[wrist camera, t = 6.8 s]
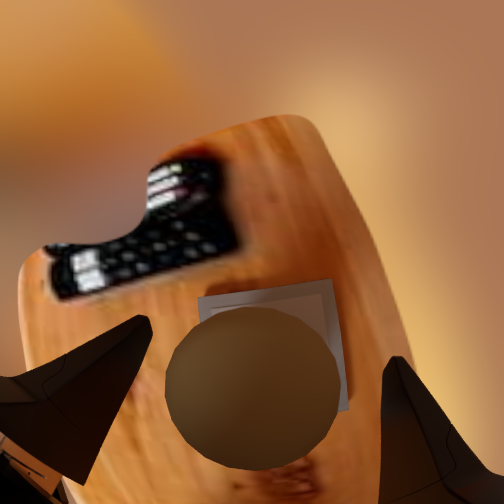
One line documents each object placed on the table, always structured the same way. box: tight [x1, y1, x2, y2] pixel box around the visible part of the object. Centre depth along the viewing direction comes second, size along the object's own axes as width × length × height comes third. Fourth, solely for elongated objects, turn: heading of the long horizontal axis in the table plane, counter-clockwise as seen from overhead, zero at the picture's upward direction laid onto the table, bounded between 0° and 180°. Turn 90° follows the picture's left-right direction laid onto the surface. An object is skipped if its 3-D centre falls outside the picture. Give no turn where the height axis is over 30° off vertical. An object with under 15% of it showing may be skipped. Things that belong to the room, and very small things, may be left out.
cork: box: [165, 306, 341, 471], centre depth 11 cm, size 6×6×11 cm
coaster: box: [198, 278, 349, 412], centre depth 17 cm, size 9×9×1 cm
